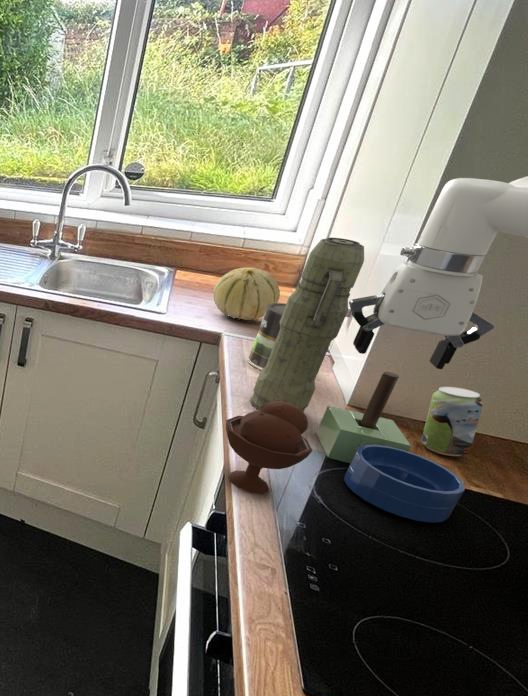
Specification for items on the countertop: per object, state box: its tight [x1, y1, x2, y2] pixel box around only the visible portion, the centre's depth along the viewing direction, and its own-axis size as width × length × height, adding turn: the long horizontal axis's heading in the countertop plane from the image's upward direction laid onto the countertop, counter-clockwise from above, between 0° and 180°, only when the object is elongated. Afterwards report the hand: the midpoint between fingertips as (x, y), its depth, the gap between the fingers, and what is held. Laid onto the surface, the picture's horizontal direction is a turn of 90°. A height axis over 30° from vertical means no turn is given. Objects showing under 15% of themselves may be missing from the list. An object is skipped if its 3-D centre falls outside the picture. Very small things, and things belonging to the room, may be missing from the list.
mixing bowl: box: [343, 445, 466, 524], centre depth 91 cm, size 12×12×6 cm
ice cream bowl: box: [225, 401, 313, 496], centre depth 92 cm, size 11×11×15 cm
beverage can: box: [420, 386, 484, 457], centre depth 104 cm, size 6×7×12 cm
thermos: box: [249, 237, 365, 414], centre depth 111 cm, size 9×12×35 cm
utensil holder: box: [315, 405, 412, 464], centre depth 103 cm, size 9×9×6 cm
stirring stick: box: [359, 371, 400, 429], centre depth 101 cm, size 2×2×16 cm
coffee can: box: [247, 302, 287, 371], centre depth 133 cm, size 10×10×14 cm
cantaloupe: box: [212, 267, 281, 321], centre depth 161 cm, size 15×15×15 cm
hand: (396, 358), depth 97 cm, fingers open, 9 cm apart
